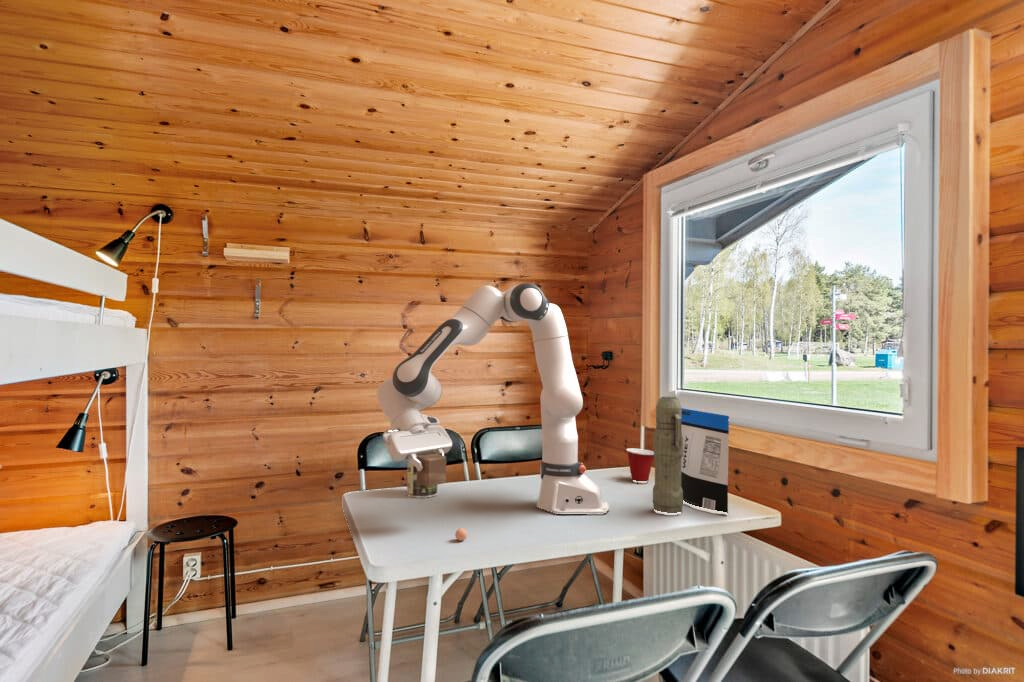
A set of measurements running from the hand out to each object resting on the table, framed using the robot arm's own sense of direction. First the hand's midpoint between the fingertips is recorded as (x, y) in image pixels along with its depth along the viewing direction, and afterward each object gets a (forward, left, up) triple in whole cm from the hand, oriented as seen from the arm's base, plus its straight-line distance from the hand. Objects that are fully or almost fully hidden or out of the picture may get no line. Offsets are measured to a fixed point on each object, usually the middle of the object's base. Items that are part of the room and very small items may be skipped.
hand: (433, 467), depth 160 cm
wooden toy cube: (+1, 0, -4) cm, 4 cm away
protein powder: (-78, -37, -17) cm, 88 cm away
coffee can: (+13, -36, -17) cm, 42 cm away
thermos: (-66, -28, -17) cm, 74 cm away
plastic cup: (-62, -67, -17) cm, 93 cm away
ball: (-9, +8, -17) cm, 21 cm away
